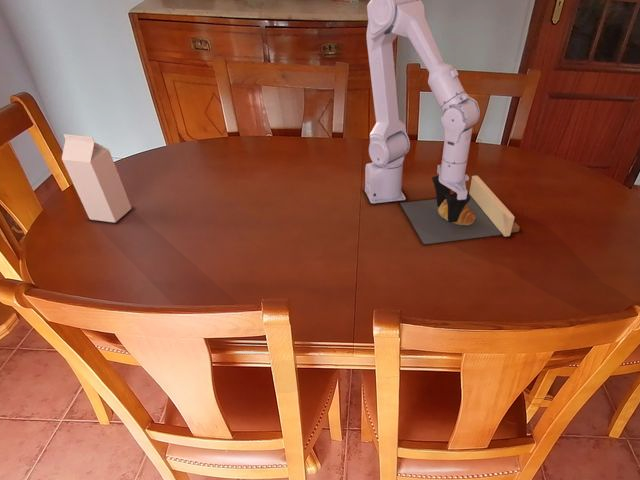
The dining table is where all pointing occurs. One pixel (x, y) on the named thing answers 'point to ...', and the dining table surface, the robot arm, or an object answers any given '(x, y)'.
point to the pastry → (464, 218)
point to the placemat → (446, 223)
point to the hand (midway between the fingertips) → (446, 213)
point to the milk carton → (95, 178)
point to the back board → (493, 207)
